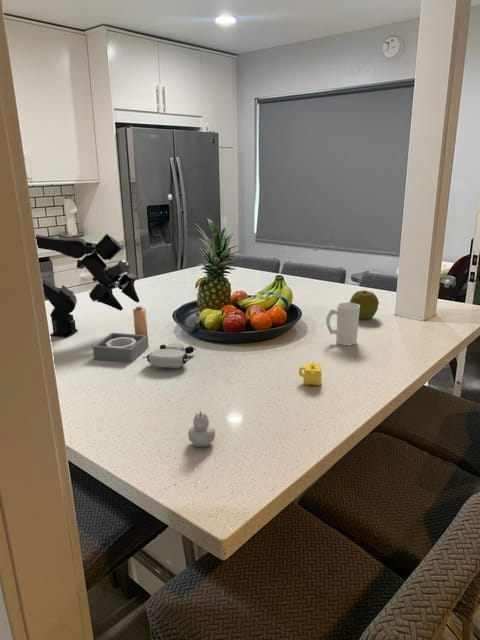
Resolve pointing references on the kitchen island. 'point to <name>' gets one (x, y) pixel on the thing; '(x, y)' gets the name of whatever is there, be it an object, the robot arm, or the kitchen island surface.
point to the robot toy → (170, 355)
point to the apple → (365, 303)
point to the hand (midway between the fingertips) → (130, 305)
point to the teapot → (311, 373)
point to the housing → (120, 347)
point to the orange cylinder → (140, 321)
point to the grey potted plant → (201, 431)
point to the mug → (345, 322)
